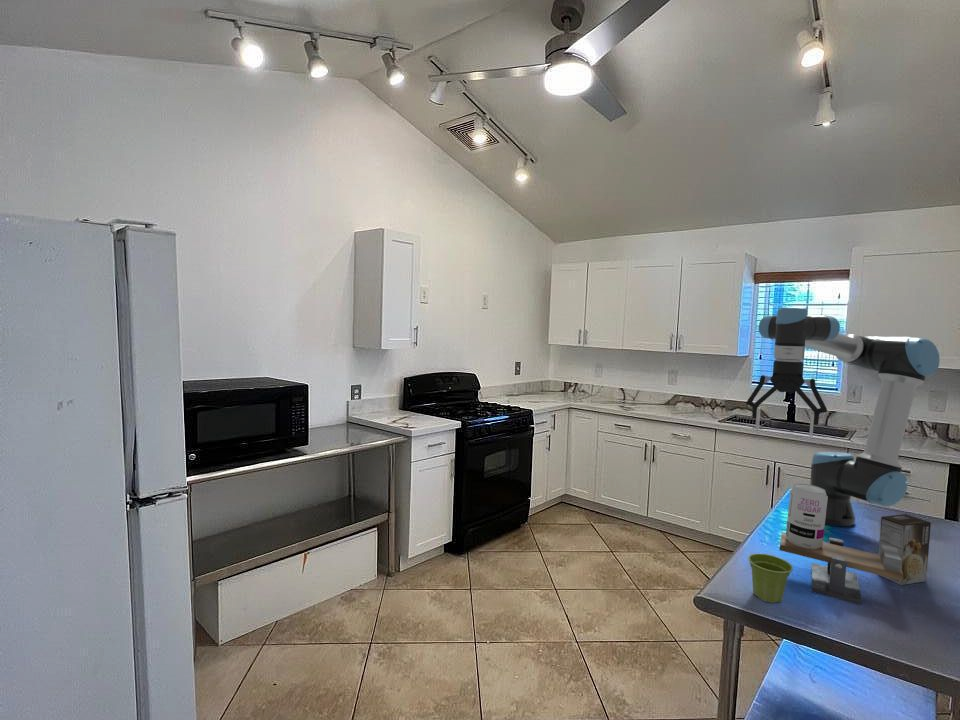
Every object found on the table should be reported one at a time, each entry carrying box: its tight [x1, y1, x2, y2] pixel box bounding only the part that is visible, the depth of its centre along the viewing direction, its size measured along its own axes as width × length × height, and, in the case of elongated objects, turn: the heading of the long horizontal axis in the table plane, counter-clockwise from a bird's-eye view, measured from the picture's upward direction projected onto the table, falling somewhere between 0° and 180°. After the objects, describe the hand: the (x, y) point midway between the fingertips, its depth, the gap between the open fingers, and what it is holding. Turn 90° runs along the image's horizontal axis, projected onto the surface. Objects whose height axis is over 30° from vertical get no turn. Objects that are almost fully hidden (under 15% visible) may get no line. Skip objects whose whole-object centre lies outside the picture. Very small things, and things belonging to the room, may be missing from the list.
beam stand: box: [810, 537, 863, 606], centre depth 130 cm, size 17×10×10 cm, turn 147°
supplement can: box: [785, 483, 828, 550], centre depth 133 cm, size 8×8×15 cm
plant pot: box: [747, 553, 794, 604], centre depth 124 cm, size 9×9×9 cm
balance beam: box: [779, 531, 903, 581], centre depth 130 cm, size 10×25×4 cm, turn 57°
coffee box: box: [878, 513, 932, 586], centre depth 134 cm, size 9×6×16 cm
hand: (783, 432), depth 150 cm, fingers open, 13 cm apart
